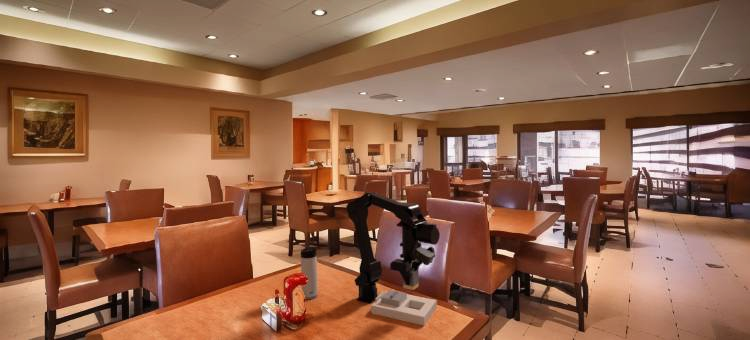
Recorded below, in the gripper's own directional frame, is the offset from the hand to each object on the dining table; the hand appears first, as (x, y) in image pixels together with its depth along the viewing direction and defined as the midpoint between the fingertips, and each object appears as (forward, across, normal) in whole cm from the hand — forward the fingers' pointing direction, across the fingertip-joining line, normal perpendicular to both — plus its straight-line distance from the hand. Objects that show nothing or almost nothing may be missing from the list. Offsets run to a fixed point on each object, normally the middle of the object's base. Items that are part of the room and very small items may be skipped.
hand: (410, 283), depth 122 cm
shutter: (+8, +1, +7) cm, 11 cm away
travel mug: (+11, -8, +42) cm, 44 cm away
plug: (+1, 0, 0) cm, 1 cm away
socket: (+11, +1, +3) cm, 12 cm away
